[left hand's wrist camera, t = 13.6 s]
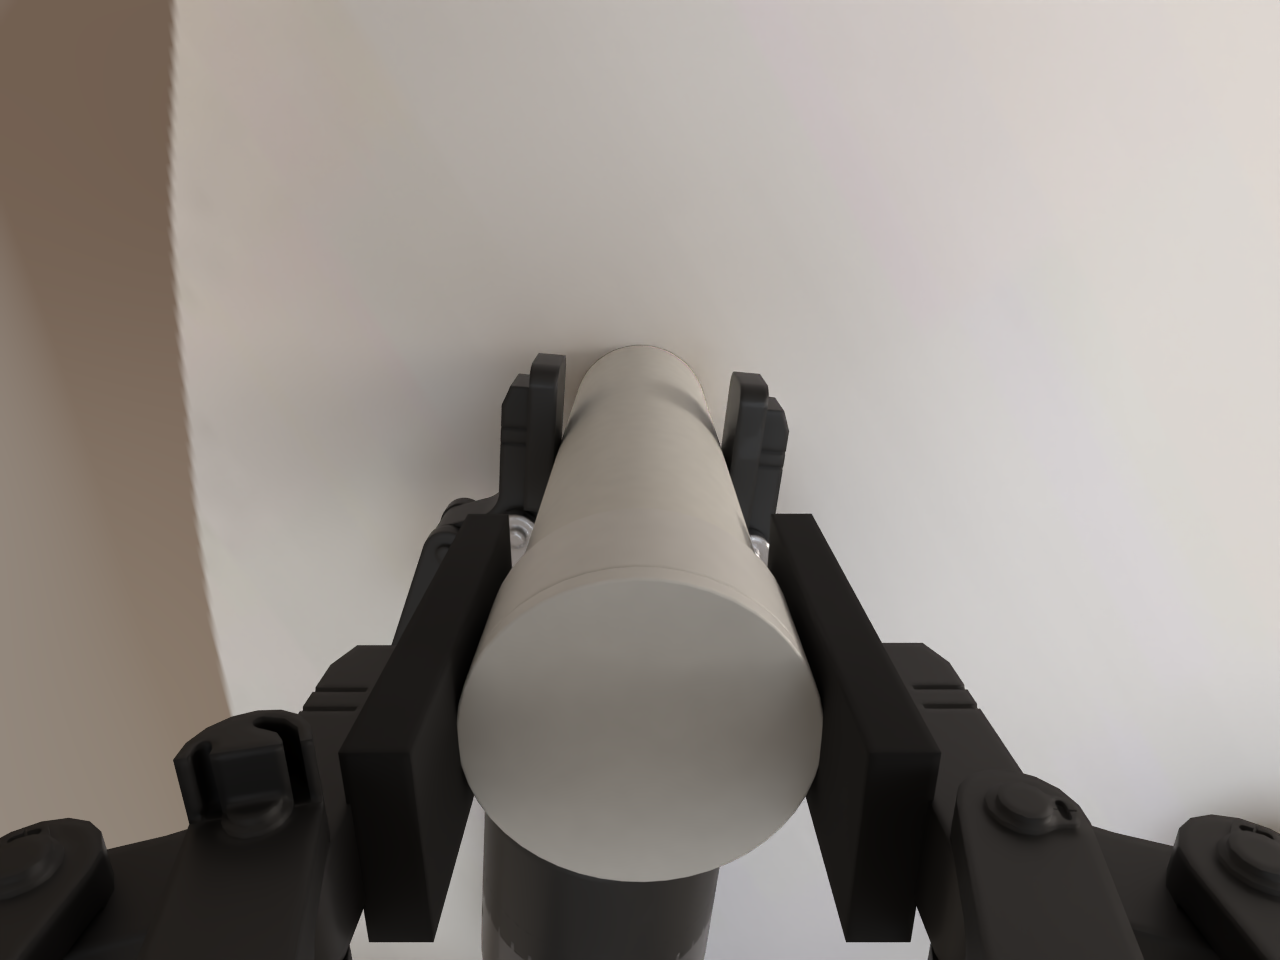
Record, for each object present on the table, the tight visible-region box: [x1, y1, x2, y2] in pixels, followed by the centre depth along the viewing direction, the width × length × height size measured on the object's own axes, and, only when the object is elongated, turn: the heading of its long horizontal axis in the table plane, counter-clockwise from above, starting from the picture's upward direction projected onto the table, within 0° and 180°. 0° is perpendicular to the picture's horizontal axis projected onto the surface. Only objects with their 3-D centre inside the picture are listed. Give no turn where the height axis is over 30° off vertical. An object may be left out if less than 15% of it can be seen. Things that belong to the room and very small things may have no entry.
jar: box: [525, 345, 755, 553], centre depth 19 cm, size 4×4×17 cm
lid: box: [457, 508, 823, 882], centre depth 11 cm, size 5×5×2 cm
